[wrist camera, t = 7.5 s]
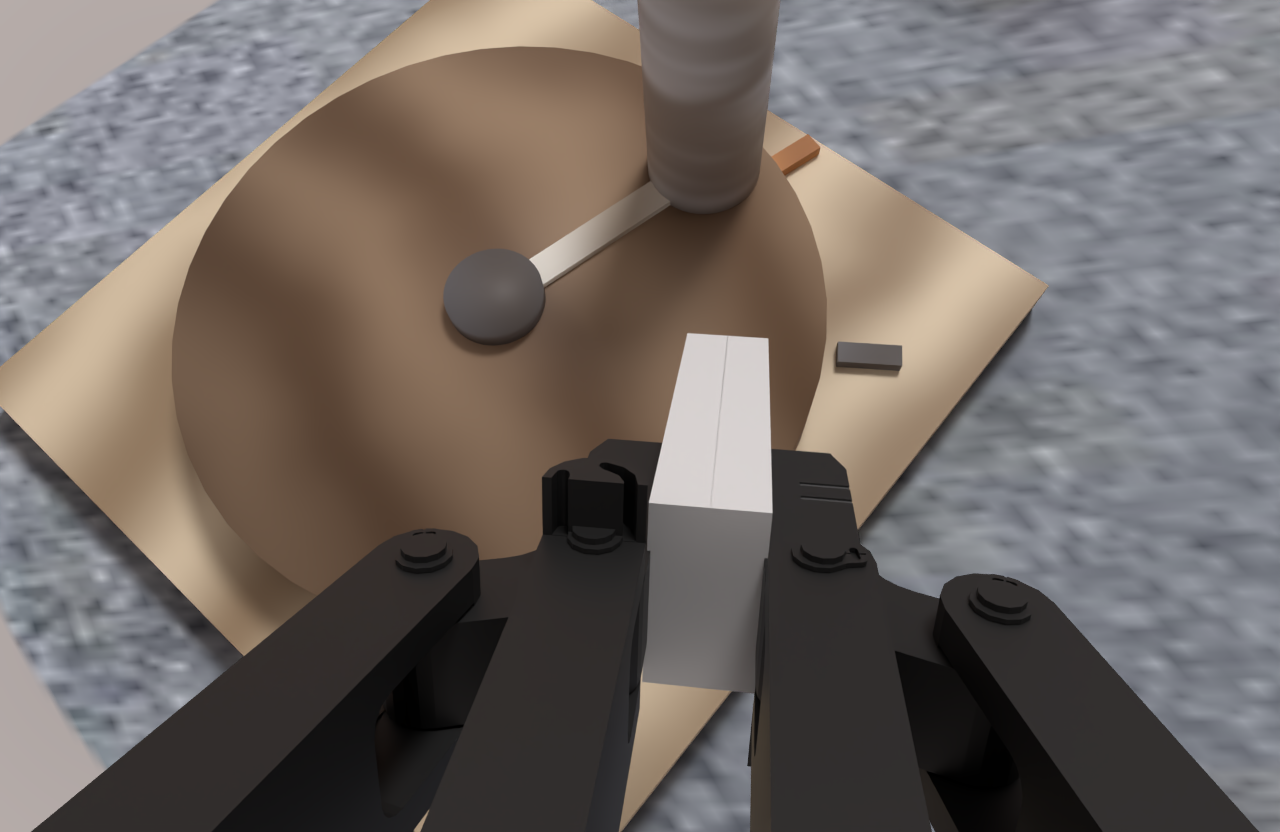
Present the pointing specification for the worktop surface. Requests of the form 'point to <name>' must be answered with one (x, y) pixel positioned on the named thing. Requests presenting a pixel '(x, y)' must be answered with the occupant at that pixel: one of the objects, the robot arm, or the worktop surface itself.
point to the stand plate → (837, 424)
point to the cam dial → (489, 286)
